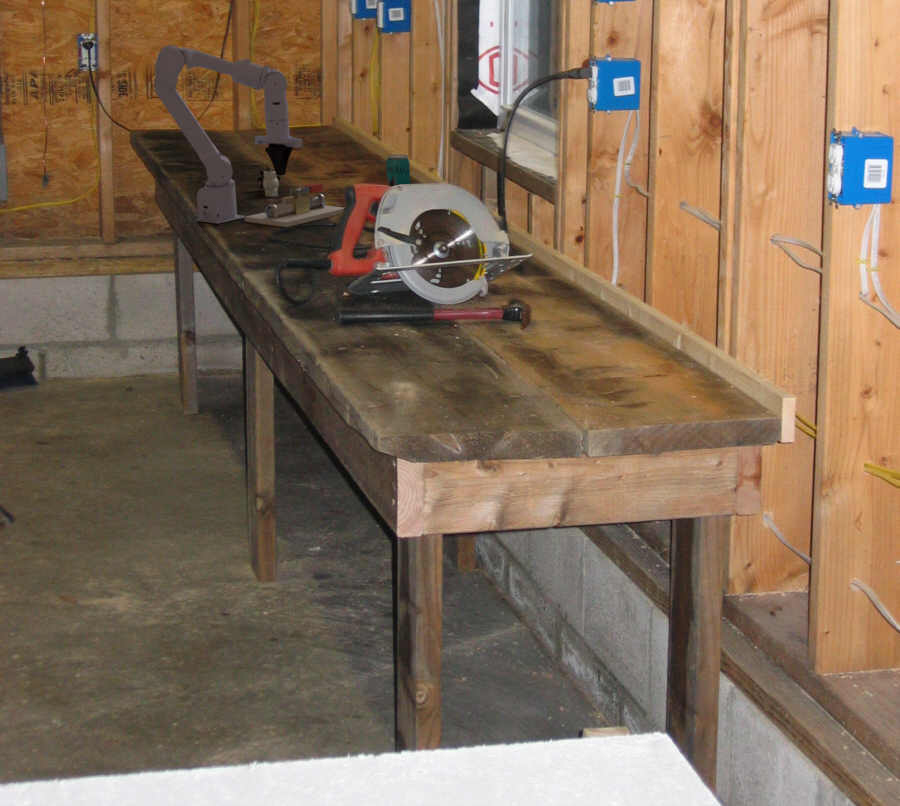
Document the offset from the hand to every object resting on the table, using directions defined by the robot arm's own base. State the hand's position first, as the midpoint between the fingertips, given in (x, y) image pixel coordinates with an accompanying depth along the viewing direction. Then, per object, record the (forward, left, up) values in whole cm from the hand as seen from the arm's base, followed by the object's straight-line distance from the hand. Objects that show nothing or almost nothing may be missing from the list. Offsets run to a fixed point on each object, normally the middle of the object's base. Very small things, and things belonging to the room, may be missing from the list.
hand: (280, 174), depth 354 cm
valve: (+23, +27, -11) cm, 38 cm away
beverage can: (+15, -26, -11) cm, 32 cm away
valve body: (+1, -4, -10) cm, 11 cm away
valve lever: (+5, -4, -5) cm, 8 cm away
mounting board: (+1, -4, -10) cm, 11 cm away
